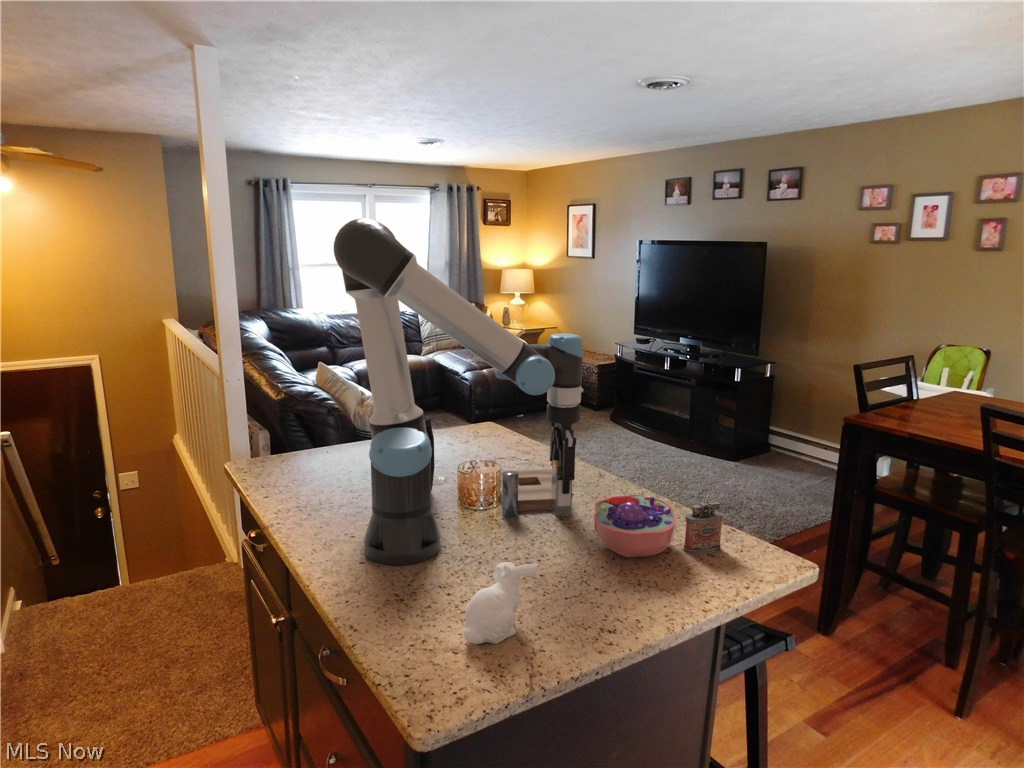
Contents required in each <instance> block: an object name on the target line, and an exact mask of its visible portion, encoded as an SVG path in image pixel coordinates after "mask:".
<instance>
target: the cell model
mask: <svg viewBox="0 0 1024 768" xmlns="http://www.w3.org/2000/svg"><path fill="white" fill-rule="evenodd" d="M594 511H595V512H594V514H593V521H594V532H595V534H596V536H597V537H599V538H600V540H601V542H603V543H604V545H605V546H606V547H607V548H608V549H609V550H610V551H612V552H614V553H616V554H618V555H620V556H622V557H625V558H644V557H650V556H651V557H652V556H656V555H658V554H660V553H662V552H664V551H666V549H667V548H669V546H670V545H671V543H672V541H673V540H674V536H675V533H676V529H677V523H678V512H677V511H676V509H675V508H674V507H673V506H672V505H671V504H670V503H669V502H668V501H666V500H664V499H659V498H657V497H654V496H649V495H640V494H639V495H638V494H633V495H614V496H609V497H606V498H602V499H600V500H598V501H596V502H595V503H594Z"/></svg>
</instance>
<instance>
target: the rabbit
mask: <svg viewBox="0 0 1024 768" xmlns="http://www.w3.org/2000/svg"><path fill="white" fill-rule="evenodd" d="M537 573H538V563H537V562H534V563H527V564H521V565H517V566H516V564H515V563H513V562H509V561H508V562H507V561H506V562H505V561H503V562H499V563H498V564H497V565H496V566H495V568H494V571H493V573H492V579H493V580H494V583H493V584H492V585H491V586H489V587H484V588H480V589H479V590H478V591H476V592H475V593H474V595H473V596H472V597H471V599H470V600H469V601H468V603H467V605H466V607H465V612H464V614H465V617H464V619H465V627H466V628H465V629H464V630H463V636H464V640H466V641H467V642H469V643H471V644H476V645H481V644H483V643H490V644H499V643H500V642H503V641H504V640H505V639H508V638H509V637H511V636H512V637H513V636H514V635H515V634H516V633H517V631H516V629H515V627H514V625H515V621H516V612H515V611H517V609H518V608H519V606H520V602H521V593H520V590H519V588H518V584H519V581H520V577H519V576H521V577H532V578H533V577H535V576H536V575H537Z"/></svg>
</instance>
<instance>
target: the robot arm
mask: <svg viewBox="0 0 1024 768" xmlns="http://www.w3.org/2000/svg"><path fill="white" fill-rule="evenodd" d="M333 256H334V258H335V261H336V264H337V265H338V267H339V268H340V269H341V272H342V278H343V283H344V289H345V293H346V294H348V295H349V296H350V297H351V298H353V299H354V302H355V308H356V314H357V318H358V323H359V329H360V335H361V341H362V348H363V353H364V359H365V362H366V368H367V373H368V374H367V375H368V380H369V385H370V392H371V398H372V404H373V409H374V411H373V413H371V414H372V415H371V416H370V417H369V418H368V422H369V427H370V428H369V429H370V433H371V439H372V440H371V442H370V446H369V447H370V448H369V451H368V452H369V460H370V477H371V478H370V479H371V480H370V482H371V484H370V485H371V508H372V509H371V510H372V511H371V517H370V519H369V523H368V526H367V528H366V531H365V536H364V540H363V545H364V548H363V550H364V554H365V556H366V557H368V558H369V560H371V561H373V562H376V563H379V564H382V565H387V566H388V565H389V566H406V565H407V566H408V565H412V564H417V563H421V562H424V561H426V560H429V559H431V558H433V557H434V556H435V555H436V554H438V553H439V551H440V550H441V543H442V542H441V538H442V537H441V533H440V530H439V527H438V525H437V522H436V519H435V516H434V513H433V510H432V491H431V457H432V448H431V444H430V440H429V437H428V434H427V432H426V426H425V420H424V416H425V414H424V410H423V409H422V408H420V407H419V406H418V405H417V404H415V403H416V402H415V396H414V390H413V385H412V383H413V382H412V379H411V372H410V366H409V360H408V354H407V349H406V348H407V347H406V341H405V340H406V339H405V333H404V329H403V324H402V323H403V322H402V317H401V311H400V310H401V309H400V304H399V303H401V304H403V305H405V306H407V307H408V308H409V309H410V310H412V311H413V312H414V313H416V314H417V315H419V316H420V317H421V318H423V319H424V320H426V321H427V322H428V323H430V324H432V325H433V326H434V327H436V328H437V329H438V330H440V331H441V332H443V333H444V334H445V335H447V336H448V337H450V338H451V339H452V340H454V341H455V342H457V343H458V344H460V345H461V346H462V347H464V348H465V349H467V350H468V351H470V352H471V353H472V354H473V355H475V356H477V358H479V359H481V360H482V361H484V362H485V363H486V364H488V365H489V366H490V367H492V368H493V370H494V376H495V377H496V378H497V379H500V380H508V381H509V380H510V381H511V382H512V383H514V384H515V385H516V386H517V387H518V388H519V389H520V390H521V391H523V392H524V393H525V394H528V395H530V396H539V395H544V394H545V393H546V395H547V396H546V401H547V402H548V404H546V419H547V420H548V421H549V422H550V446H549V447H550V448H549V449H550V450H549V462H551V463H550V465H551V466H552V465H553V460H560V477H559V478H557V480H559V486H558V506H570V498H571V480H572V481H575V471H576V470H575V469H576V468H575V467H576V446H577V437H575V436H574V429H573V427H572V425H573V424H576V423H578V422H579V421H580V420H581V412H582V411H581V409H582V406H581V405H580V403H581V402H582V401H581V400H582V393H583V392H584V388H582V381H583V380H582V379H583V378H582V376H583V366H584V365H583V362H584V361H583V360H584V340H583V338H582V336H580V335H578V334H575V333H567V332H566V333H565V332H564V333H563V332H562V333H553V334H552V333H551V335H549V338H548V341H547V343H539V344H537V343H534V344H533V343H530V344H528V343H525V342H523V341H522V340H521V339H519V338H518V337H517V336H515V335H514V334H513V333H511V331H509V330H508V329H506V328H505V327H504V326H502V325H501V324H500V323H498V322H497V321H496V320H494V319H493V318H491V317H490V316H489V315H487V314H486V313H484V312H483V311H482V310H481V309H480V308H478V307H477V306H475V305H474V304H473V303H471V302H470V301H468V300H467V299H466V298H465V297H463V296H462V295H460V294H459V293H458V292H457V291H455V290H454V289H452V288H451V287H450V286H449V285H447V284H445V282H443V281H442V280H440V279H439V278H438V277H436V276H434V274H432V273H431V272H430V271H428V270H427V269H425V268H424V267H423V266H421V265H420V264H419V263H418V262H417V257H416V255H415V254H414V253H413V252H412V251H410V250H409V249H408V248H406V247H405V246H404V245H403V244H402V243H401V242H399V240H398V239H397V238H396V236H395V234H394V233H393V232H392V231H391V229H390V228H388V227H387V226H386V225H384V224H383V223H381V222H379V221H378V220H375V219H371V218H366V217H365V218H363V217H362V218H355V219H353V220H350V221H348V222H347V223H345V224H344V225H343V226H342V227H341V228H340V229H339V230H338V231H337V233H336V235H335V238H334V241H333ZM551 494H552V482H551Z"/></svg>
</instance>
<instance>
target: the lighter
mask: <svg viewBox="0 0 1024 768" xmlns="http://www.w3.org/2000/svg"><path fill="white" fill-rule="evenodd" d="M721 505H722V504H721V502H718V501H715V502H708V503H706V502H704V501H700V502H699V503H698V504H693V505H692V506H691V507H692V508H691V511H692V513H687V514H685V521H686V522H685V534H684V535H685V536H684V544H683V548H682V549H683V552H684V553H686V554H688V555H703V554H710V553H716V552H719V551H721V547H722V545H721V539H722V538H721V537H722V527H723V525H722V524H723V520H724V514H723V513H722V512H720V511H719V510H721V508H722V506H721Z"/></svg>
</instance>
